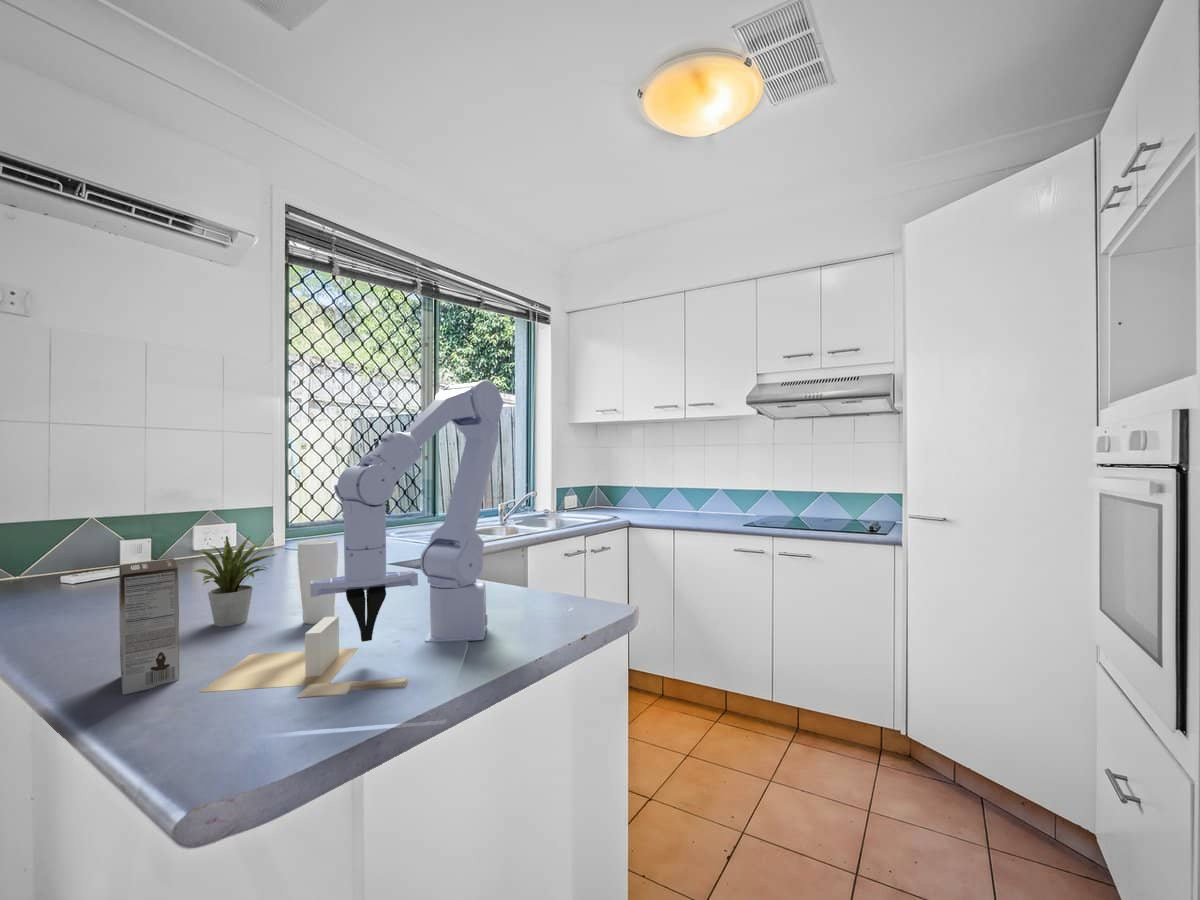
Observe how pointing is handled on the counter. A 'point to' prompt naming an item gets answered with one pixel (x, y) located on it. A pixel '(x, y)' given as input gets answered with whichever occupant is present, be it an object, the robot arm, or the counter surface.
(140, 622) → the coffee box
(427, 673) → the counter surface
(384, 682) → the beech spatula
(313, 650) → the white block
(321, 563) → the drinking glass
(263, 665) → the bamboo mat
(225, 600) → the house plant
